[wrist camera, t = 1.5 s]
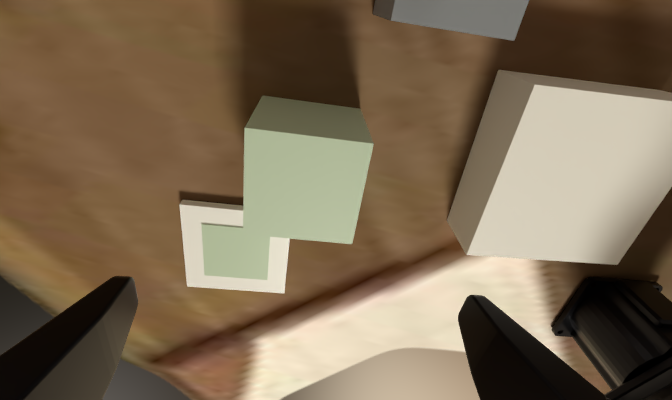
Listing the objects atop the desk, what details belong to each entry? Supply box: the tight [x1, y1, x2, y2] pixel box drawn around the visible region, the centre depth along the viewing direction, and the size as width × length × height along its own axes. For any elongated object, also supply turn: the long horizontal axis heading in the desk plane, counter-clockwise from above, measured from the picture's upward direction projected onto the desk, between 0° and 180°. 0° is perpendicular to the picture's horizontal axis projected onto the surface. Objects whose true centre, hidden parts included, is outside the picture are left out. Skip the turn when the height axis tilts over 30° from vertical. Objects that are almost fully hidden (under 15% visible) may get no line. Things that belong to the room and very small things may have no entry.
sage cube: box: [243, 96, 374, 244], centre depth 18 cm, size 6×6×6 cm
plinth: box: [447, 70, 672, 265], centre depth 20 cm, size 10×10×4 cm
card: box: [179, 200, 290, 293], centre depth 24 cm, size 7×7×1 cm
